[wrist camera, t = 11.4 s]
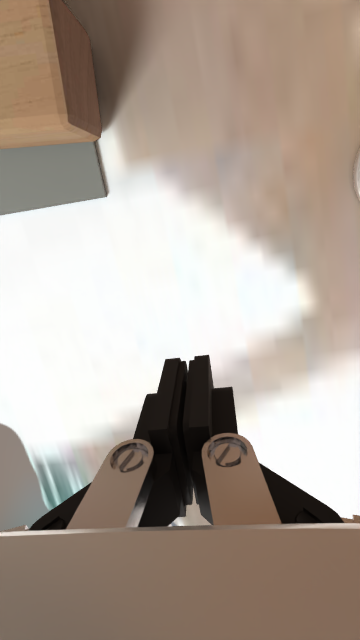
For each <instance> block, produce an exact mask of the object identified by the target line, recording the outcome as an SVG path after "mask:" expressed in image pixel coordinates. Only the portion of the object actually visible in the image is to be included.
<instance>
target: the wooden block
mask: <svg viewBox="0 0 360 640" xmlns="http://www.w3.org/2000/svg"><path fill="white" fill-rule="evenodd" d="M101 132H102V127H101V120H100V112H99V105H98V97H97V90H96V82H95V75H94V67H93V59H92V52H91V44H90V39H89V37H88V35H87V32H86V31H85V29H84V28H83V27H82V26H81V24H80V23H79V22H78V20H77V19H76V18H75V17H74V15H73V14H72V13H71V11H70V10H69V9H68V8H67V6H66V5H65V4H64V2H63V1H62V0H0V149H9V148H21V147H33V146H46V145H58V144H70V143H82V142H94V141H96V140H98V139H99V138H101Z"/></svg>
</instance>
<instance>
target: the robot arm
mask: <svg viewBox="0 0 360 640" xmlns="http://www.w3.org/2000/svg"><path fill="white" fill-rule="evenodd" d="M353 180H354V188H355V191H356V194H357V197H358V199H359V201H360V148H359V150H358V152H357V156H356V160H355V163H354V172H353ZM193 488H194V493H195V498H196V503H197V504H199V507H200V512H201V515H202V516H203V517H204V518H205V519H206V520H207V521H208V522H209V523H211V524H212V525H205V526H171V523H172V522H173V521H174V520H175V519H176V518H177V517H186V505H192V500H193ZM0 640H360V516H358V515H353V519H347V518H341V517H340V516H339V515H338V514H337V513H336V512H335V511H333V510H332V509H331V508H330V507H328V506H327V505H325V504H324V503H322V502H320V501H319V500H317V499H316V498H314V497H313V496H311V495H309V494H308V493H306V492H305V491H303V490H301V489H300V488H298V487H297V486H295V485H294V484H292V483H290V482H289V481H287V480H286V479H284V478H282V477H281V476H279V475H278V474H276V473H275V472H273V471H271V470H270V469H268V468H267V467H265V466H263V465H262V464H260V463H259V462H258V460H257V457H256V455H255V452H254V450H253V447H252V445H251V444H250V442H249V441H248V440H247V439H246V438H244V437H243V436H240V435H238V430H237V422H236V414H235V405H234V397H233V389H232V387H225V388H214V387H213V379H212V372H211V365H210V358H209V355H203V356H195V358H194V360H190V361H189V370H187V364H186V361H181V359H180V358H173V359H166V360H165V363H164V367H163V371H162V375H161V379H160V383H159V387H158V391H157V393H155V394H147V395H146V398H145V401H144V404H143V408H142V411H141V414H140V418H139V421H138V424H137V428H136V431H135V434H134V438H133V439H131V440H127V441H124V442H122V443H120V444H118V445H117V446H115V447H114V448H113V449H112V450H111V451H110V452H109V454H108V455H107V456H106V458H105V460H104V462H103V464H102V465H101V467H100V469H99V471H98V473H97V474H96V476H95V478H94V480H93V482H91V483H90V484H88V485H87V486H85V487H84V488H83V489H81V490H80V491H78V492H77V493H75V494H74V495H73V496H71V497H70V498H68V499H67V500H65V501H64V502H62V503H61V504H60V505H58V506H57V507H55V508H54V509H52V510H51V511H49V512H48V513H47V514H45V515H44V516H42V517H41V518H40V519H39V520H37V521H36V522H35V523H34V524H33V525H32V526H31V528H30V529H28V528H27V526H26V525H23V526H19V527H16V528H12V529H8V530H4V531H0Z"/></svg>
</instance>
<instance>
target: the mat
mask: <svg viewBox="0 0 360 640" xmlns="http://www.w3.org/2000/svg"><path fill="white" fill-rule="evenodd" d="M103 197H107V196H106V191H105V187H104V182H103V178H102V173H101V169H100V165H99V160H98V156H97V151H96V147H95V142H82V143H70V144H58V145H46V146H33V147H21V148H9V149H0V215H5V214H10V213H16V212H22V211H28V210H34V209H39V208H45V207H51V206H57V205H62V204H68V203H74V202H80V201H86V200H91V199H97V198H103Z"/></svg>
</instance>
